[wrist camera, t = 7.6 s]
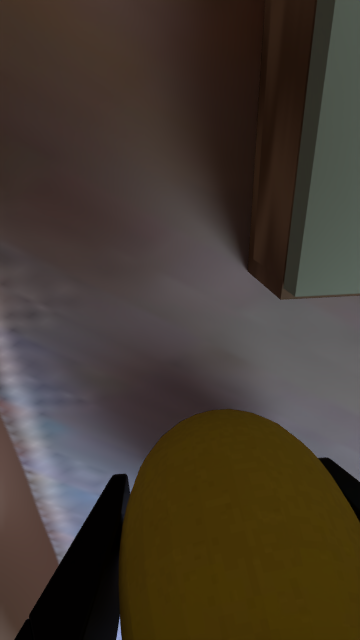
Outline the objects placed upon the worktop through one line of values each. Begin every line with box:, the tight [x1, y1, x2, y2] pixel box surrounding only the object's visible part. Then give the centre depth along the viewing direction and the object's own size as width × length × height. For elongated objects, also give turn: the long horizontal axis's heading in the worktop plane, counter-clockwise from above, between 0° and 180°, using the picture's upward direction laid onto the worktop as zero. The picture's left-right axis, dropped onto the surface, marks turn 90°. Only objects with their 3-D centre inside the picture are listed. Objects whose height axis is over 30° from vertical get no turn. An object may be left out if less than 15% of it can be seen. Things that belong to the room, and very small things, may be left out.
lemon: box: [119, 409, 360, 640], centre depth 7 cm, size 6×6×8 cm
